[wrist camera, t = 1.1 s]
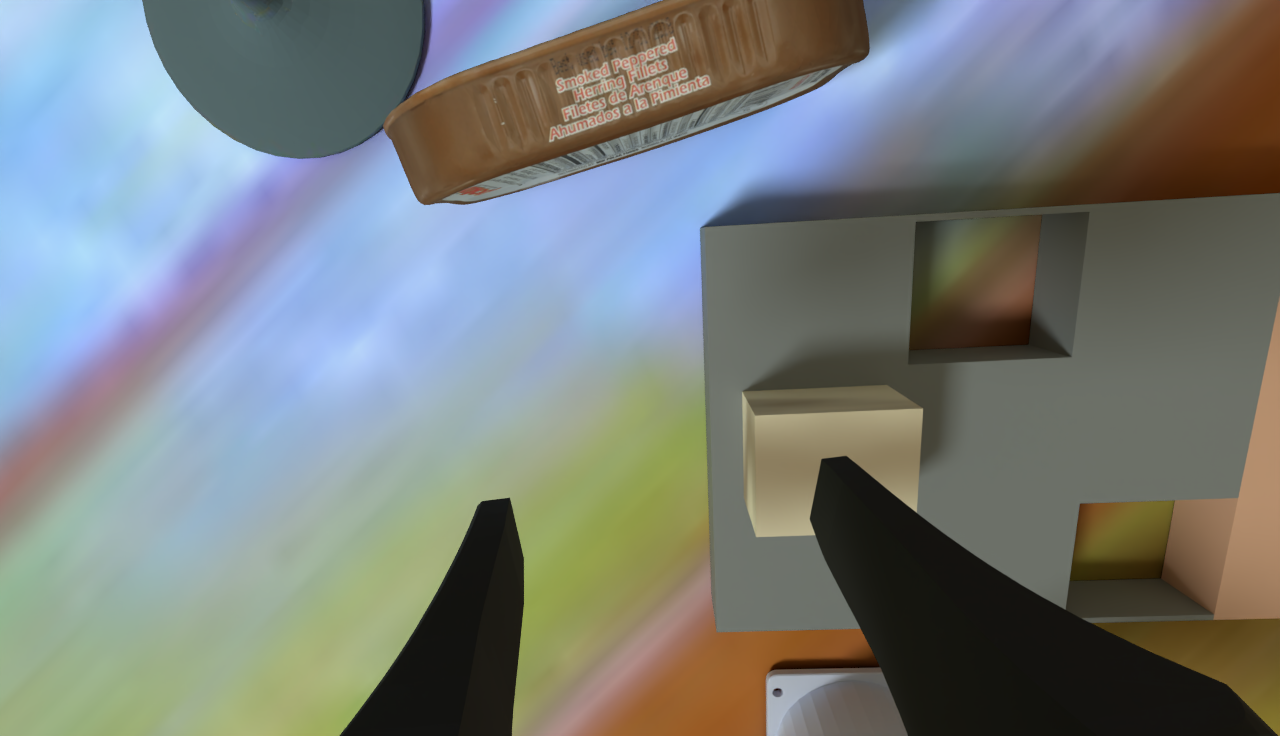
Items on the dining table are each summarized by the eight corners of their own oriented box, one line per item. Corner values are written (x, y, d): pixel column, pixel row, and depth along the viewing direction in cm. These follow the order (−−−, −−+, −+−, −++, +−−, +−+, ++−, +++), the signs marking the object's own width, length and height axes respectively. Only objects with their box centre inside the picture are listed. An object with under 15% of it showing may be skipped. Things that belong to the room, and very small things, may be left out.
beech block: (882, 493, 22) (915, 532, 19) (743, 498, 22) (756, 536, 20) (887, 384, 21) (923, 408, 18) (742, 391, 21) (755, 415, 19)
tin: (812, 20, 21) (911, -122, 13) (830, 107, 21) (936, 26, 13) (442, 146, 22) (315, 93, 14) (470, 224, 23) (364, 216, 15)
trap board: (1310, 579, 25) (1428, 641, 21) (711, 595, 26) (720, 657, 22) (1406, 186, 21) (1574, 175, 17) (700, 228, 23) (708, 226, 19)
